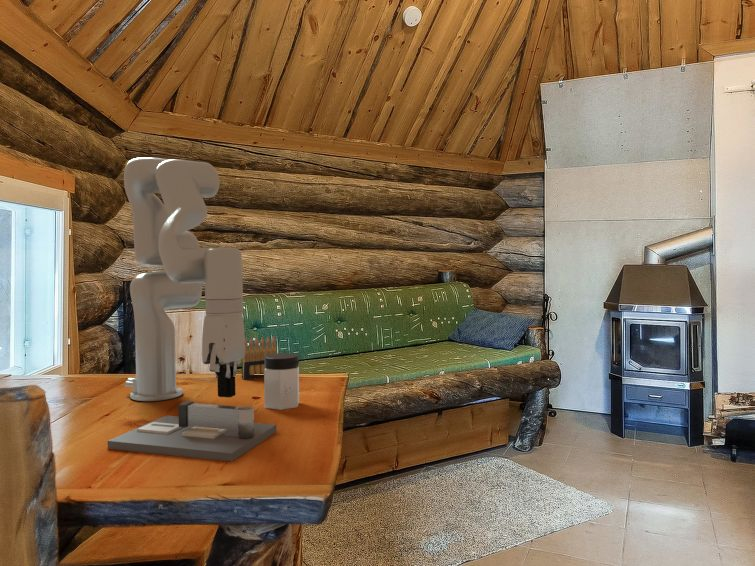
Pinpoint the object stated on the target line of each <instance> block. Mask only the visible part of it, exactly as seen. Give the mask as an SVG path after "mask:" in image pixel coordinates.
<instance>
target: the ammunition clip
mask: <svg viewBox="0 0 755 566" xmlns="http://www.w3.org/2000/svg"><path fill="white" fill-rule="evenodd" d="M248 343H249V344H248ZM265 344H266V345H265ZM277 351H278V349H277V341H276V337H275V335H273V336H272V338H271V339H270V336H269V335H268V336H266V341H265V339H264V336H261V339H260V342H259V338H258V337H257V336H256V338H255V340H254V341H253V338H252V337H250V339H249V342H248V340H247V338H246V337H245V356H244V357H243V358H242V361H241V363H242V364H241V366H242V367H241V380H244V381H246V380H255V379H254V378H256V379H263V378H262V377H264V375H254V374H264V369H265V361H264V357H265V356H266V355H269V354H276V353H277Z"/></svg>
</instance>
